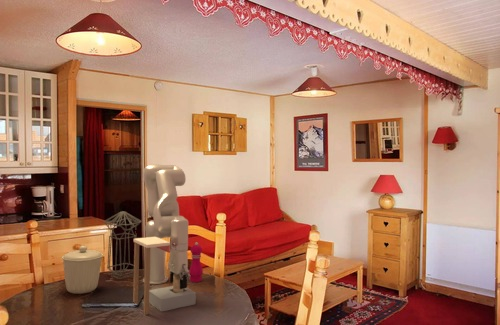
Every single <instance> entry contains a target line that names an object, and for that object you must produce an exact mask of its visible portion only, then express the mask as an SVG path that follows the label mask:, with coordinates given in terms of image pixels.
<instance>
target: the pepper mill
mask: <svg viewBox="0 0 500 325" xmlns="http://www.w3.org/2000/svg"><path fill="white" fill-rule="evenodd" d="M190 253H191V259H192V261H191V264H190V267H189V268H188V270H189V274H188V275H189V281H190V282H191V283H200V282H202V280H203V278H202V276H203V273H204V272H203V271H204V270H203V267H202V264H201V258H202V253H203V248H202V246H201V245H199V242H197V241H196V242H195V243H194V245H192V246H191V248H190Z"/></svg>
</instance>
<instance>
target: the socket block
mask: <svg viewBox="0 0 500 325" xmlns="http://www.w3.org/2000/svg"><path fill="white" fill-rule="evenodd" d="M196 296H197V292H195V291H194V290H192V289H190V288H189V287H187V288H184V289H183V292H180V293H174V292H173V285H172V286H171V285H169V286H165V287H160V288H159V287H158V288H154V289H149V305H152V306H153V307H154V308H155V309H157V310H158V311H159V312H161V313H162V312H167V311H170V310H175V309H180V308H185V307H188V306H193V305H196V300H197V297H196Z"/></svg>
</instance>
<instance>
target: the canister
mask: <svg viewBox="0 0 500 325" xmlns="http://www.w3.org/2000/svg"><path fill="white" fill-rule="evenodd" d="M103 257H104V254H103V253H102V252H100V251H98V250H93V249H88V246H86V245H80V246H79V247H78V250H73V251H69V252H67V253H65V254H64V255H62V256H61V260H62V261H63V263H62V264H63V272H64V281H65V288H66V290H67V292H68V293H70V294H73V295H74V294H75V295H76V294H77V295H81V294H82V295H83V294H87V293H88V294H89V293H91V292H93V291H95V290H96V289H97V287H98V284H99V280H100V279H99V278H100V274H101V273H100V272H101V267H102V265H101V264H102V258H103Z"/></svg>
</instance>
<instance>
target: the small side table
mask: <svg viewBox="0 0 500 325" xmlns="http://www.w3.org/2000/svg"><path fill="white" fill-rule="evenodd" d="M133 245H134V249H133V251H134V252H133V253H134V254H133V265H134V266H133V269H134V272H133V284H132V285H133V288H132V290H133V291H132V294H133V296H132V303H133V302H134V304H135V303H138V304H139V282H140V281H139V279H140V278H139V276H140V275H139V274H140V270H139V268H140V246H142V247H144V277H143V279H144V282H143V284H144V285H143V315H144V316H147V315H149V314H150V303H149V290H150V285H151V284H150V247H157V248H159V249H161V250H163V251H166V253H168V254H170V249H171V241H168V240H165V239H164V238H161V239H160V238H158V237H147V238H146V237H137V238H135V239H134V238H133Z"/></svg>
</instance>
